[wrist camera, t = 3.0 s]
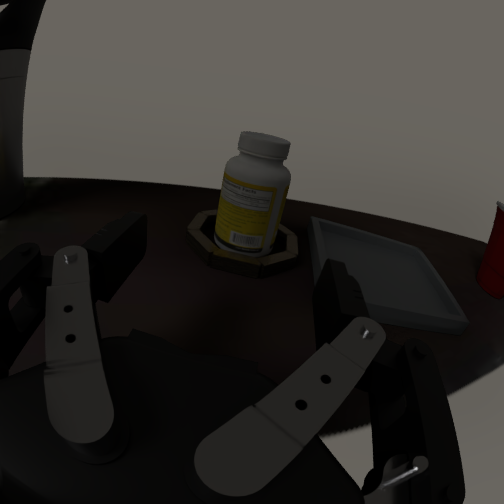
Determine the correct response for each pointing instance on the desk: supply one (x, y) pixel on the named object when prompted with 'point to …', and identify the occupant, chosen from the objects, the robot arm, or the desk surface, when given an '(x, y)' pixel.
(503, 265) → the plastic cup
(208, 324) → the desk surface
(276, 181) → the supplement bottle
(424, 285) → the tray
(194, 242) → the ring collar
